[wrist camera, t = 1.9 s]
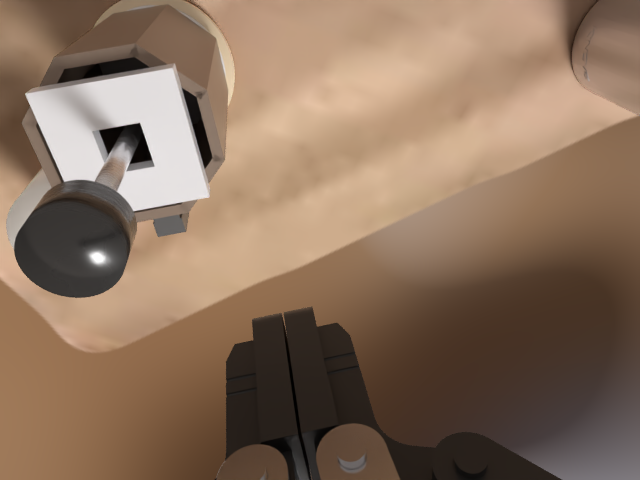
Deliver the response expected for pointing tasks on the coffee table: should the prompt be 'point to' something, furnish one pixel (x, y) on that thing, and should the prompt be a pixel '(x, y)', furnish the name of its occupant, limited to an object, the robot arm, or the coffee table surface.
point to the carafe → (139, 106)
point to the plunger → (82, 229)
